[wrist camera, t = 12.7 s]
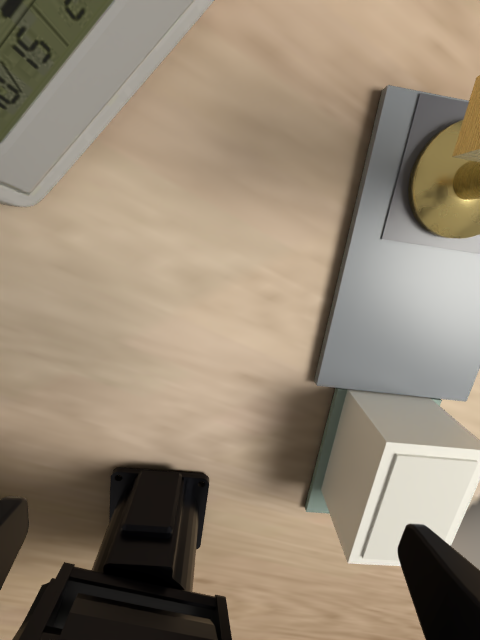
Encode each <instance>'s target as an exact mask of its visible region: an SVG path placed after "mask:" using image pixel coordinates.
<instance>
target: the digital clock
mask: <svg viewBox="0 0 480 640" xmlns="http://www.w3.org/2000/svg"><path fill="white" fill-rule="evenodd" d="M213 1H214V0H0V203H1V204H4V205H9V206H17V207H30V206H33V205H35V204H37V203H38V202H40V201H41V200H42V199H43V198H44V197H45V196H46V195H47V194H48V193H49V192H50V190H51V189H52V188H53V187H54V186H55V185H56V184H57V183H58V182H59V180H60V179H61V178H62V177H63V176H64V175H65V174H66V172H67V171H68V170H69V169H70V168H71V167H72V166H73V164H74V163H75V162H76V161H77V160H78V159H79V157H80V156H81V155H82V154H83V153H84V152H85V151H86V149H87V148H88V147H89V146H90V145H91V144H92V142H93V141H94V140H95V139H96V138H97V137H98V135H99V134H100V133H101V132H102V131H103V130H104V128H105V127H106V126H107V125H108V124H109V123H110V121H111V120H112V119H113V118H114V117H115V116H116V114H117V113H118V112H119V111H120V110H121V109H122V107H123V106H124V105H125V104H126V103H127V102H128V100H129V99H130V98H131V97H132V96H133V95H134V94H135V92H136V91H137V90H138V89H139V88H140V87H141V85H142V84H143V83H144V82H145V81H146V80H147V78H148V77H149V76H150V75H151V74H152V73H153V71H154V70H155V69H156V68H157V67H158V66H159V64H160V63H161V62H162V61H163V60H164V59H165V57H166V56H167V55H168V54H169V53H170V52H171V50H172V49H173V48H174V47H175V46H176V45H177V43H178V42H179V41H180V40H181V39H182V38H183V37H184V35H185V34H186V33H187V32H188V31H189V30H190V28H191V27H192V26H193V25H194V24H195V23H196V21H197V20H198V19H199V18H200V17H201V16H202V14H203V13H204V12H205V11H206V10H207V8H208V7H209V6H210V5H211V4H212V3H213Z"/></svg>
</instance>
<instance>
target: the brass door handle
mask: <svg viewBox="0 0 480 640" xmlns="http://www.w3.org/2000/svg"><path fill="white" fill-rule="evenodd" d="M408 196H409V203H410V207H411V210H412V212H413V215H414V217H415V218H416V220H417V221H418V223H419V224H420V225H421V226H422V227H423V228H424V229H425V230H427V231H428V232H430V233H432V234H434V235H436V236H439V237H444V238H456V239H460V238H469V237H473V236H476V235H479V234H480V75H479V76H478V77H477V78H476V81H475V84H474V87H473V91H472V94H471V97H470V100H469V103H468V107H467V110H466V113H465V116H464V120H461V121H459V122H457V123H454V124H452V125H450V126H448V127H446V128H444V129H443V130H441V131H440V132H438V133H437V134H436V135H435V136H434V137H432V138H431V139H430V141H429V142H428V143H427V144H426V145H425V146H424V148H423V149H422V150H421V152H420V154H419V155H418V157H417V159H416V161H415V163H414V165H413V168H412V171H411V175H410V179H409V187H408Z"/></svg>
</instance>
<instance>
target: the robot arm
mask: <svg viewBox="0 0 480 640" xmlns="http://www.w3.org/2000/svg"><path fill="white" fill-rule="evenodd" d="M118 475H121V477H120V476H118ZM201 481H203V482H204V483H201ZM208 488H209V477H208V476H207V475H205V474H198V473H185V472H172V471H160V470H147V469H134V468H121V467H120V468H116V469H115V470H114V471H113V473H112V475H111V487H110V522H109V526H108V529H107V531H106V534H105V536H104V539H103V542H102V544H101V547H100V549H99V552H98V555H97V557H96V560H95V562H94V565H93V568H92V570H87V569H82V568H78V567H74V566H75V564H70V563H65V562H64V564H63V566H62V567H61V569H60V571H59V573H58V575H57V577H56V579H54V578H52V579H51V581H50V582H49V583H47V584H44V585H42V587H41V589H40V591H39V593H38V595H37V597H36V599H35V600H34V602H33V604H32V606H31V608H30V610H29V612H28V614H27V616H26V618H25V620H24V622H23V623H22V625H21V627H20V629H19V630H18V632H17V633H16V635H15V636H14V638H13V640H232V637H231V630H230V623H229V617H228V610H227V603H226V597H224V596H220V595H215V597H214V596H209V595H205V594H200V593H195V592H192V589H193V578H194V566H195V555H196V549H198V548H199V547H200V545H201V538H202V531H203V524H204V517H205V510H206V503H207V495H208ZM28 527H29V520H28V505H27V500H26V498H24V497H13V496H7V497H4V498H2V499H1V500H0V590H1V588H2V585H3V583H4V581H5V579H6V577H7V575H8V573H9V571H10V569H11V567H12V565H13V562H14V560H15V558H16V556H17V554H18V552H19V550H20V548H21V546H22V544H23V542H24V539H25V537H26V535H27V532H28ZM397 551H398V558H399V562H400V565H401V568H402V571H403V574H404V577H405V580H406V583H407V586H408V589H409V592H410V595H411V598H412V601H413V604H414V607H415V610H416V613H417V616H418V619H419V622H420V625H421V627H422V630H423V633H424V636H425V638H426V640H480V570H479V569H477V568H476V567H475V566H474V565H473V564H471V563H470V562H469V561H468V560H467V559H466V558H464V557H463V556H462V555H461V554H459V553H458V552H457V551H456V550H454V548H452V547H451V546H450V545H449V544H448V543H446V542H445V541H444V540H443V539H442V538H440V537H439V536H438V535H437V534H436V533H435V532H433V531H432V530H431V529H430V528H428V527H427V526H425V525H423V524H412V523H410V524H408V525H406V527H405V529H404V532H403V534H402V537H401V540H400V542H399V545H398V550H397Z"/></svg>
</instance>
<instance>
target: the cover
mask: <svg viewBox="0 0 480 640" xmlns="http://www.w3.org/2000/svg"><path fill="white" fill-rule="evenodd" d="M479 481H480V440H479V439H478V438H476V437H475V436H474V435H473V434H472V433H471V432H469V431H468V430H467V429H466V428H465V427H463V426H462V425H461V424H460V423H459V422H458V421H456V420H455V419H454V418H453V417H452V416H450V415H449V414H448V413H447V412H446V411H445V410H443V409H442V408H441V407H440V406H439V405H438V404H436V403H435V402H434V401H433V400H432V399H430V398H429V397H419V396H410V395H400V394H390V393H380V392H370V391H360V390H350V389H347V393H346V397H345V401H344V405H343V408H342V412H341V416H340V420H339V424H338V427H337V431H336V435H335V439H334V443H333V446H332V450H331V454H330V458H329V462H328V465H327V469H326V473H325V477H324V481H323V484H322V488H321V491H322V494H323V496H324V499H325V502H326V505H327V507H328V510H329V513H330V516H331V518H332V521H333V524H334V527H335V529H336V532H337V535H338V538H339V540H340V543H341V546H342V549H343V551H344V554H345V557H346V560H347V562H348V563H352V564H372V565H391V566H401V565H400V562H399V558H398V551H397V550H398V545H399V542H400V540H401V537H402V534H403V532H404V529H405V527H406V525H408V524H410V523H412V524H423V525H425V526H427V527H428V528H430V529H431V530H432V531H433V532H435V533H436V534H437V535H438V536H439V537H440V538H442V539H443V540H444V541H445V542H446V543H448V544H449V545H450V546H451V544H452V542H453V540H454V537H455V535H456V533H457V530H458V528H459V526H460V524H461V521H462V519H463V517H464V515H465V512H466V510H467V508H468V506H469V503H470V501H471V499H472V496H473V494H474V492H475V490H476V487H477V485H478V483H479Z"/></svg>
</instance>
